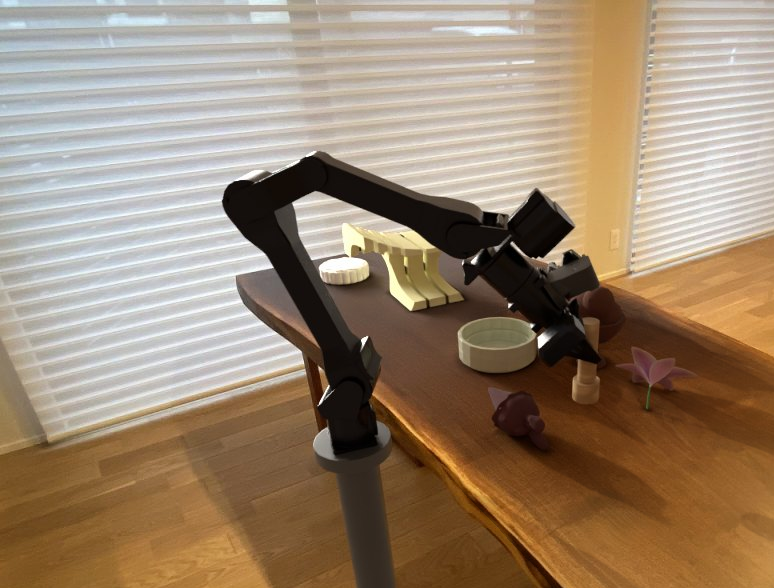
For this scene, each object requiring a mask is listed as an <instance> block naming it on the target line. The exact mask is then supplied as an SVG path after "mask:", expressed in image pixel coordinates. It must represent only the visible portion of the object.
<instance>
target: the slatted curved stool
mask: <svg viewBox="0 0 774 588" xmlns="http://www.w3.org/2000/svg"><path fill="white" fill-rule="evenodd" d="M341 228H342V229H341V232H342V239H343V240H342V241H343V245H344V246H343V247H344V253H345V254H346V255H347V256H348V257H351V258H352V257H353V258H355V257H356V256H360V253H362V255H365V254H371V253H373V252H374V253H376V254H379V255H381V256H382V258H383V260H384V262H385V264H386V266H387V269H388V274H389V292H390V294H391V295H392V296H393V297H394V298H395V299H396V300H398V302H399V303H400V304H402V305H403V306H404V307H405V308H407V309H408V310H409V311H410V312H413V311H419V310H423V309H427V307H430V308H432V307H437V306H442V305H446V304H447V303H448V304H452V303H455V302H456V303H457V302H461V301H465V298H464V297H463V296H462V294H461V292H459V291H458V290H456V289H455V287H453V286H452V285H450V284H449V283H448V282H447V281H446V280H445V279H444V278H443V276H442V275H441V273H440V270H439V259H440V256H441V254H442V253H443V251H441V250H439V249H438V248H436V247H434V246H433V245H431V244H429V243H428V242H427V241H426V240H425V239H424V238H422V237H421V236H420V235H419V234H418V233H416V232H415V231H413V230H408V231H400V232H399V233H398V232H384V231H381V232H378V231H377V230H374V229H373V230H372V229H368V230H367V229H365V228H364V227H360V226H357V225H356V226H354V225H353V224H351V223H348V222H343V224H342V227H341Z"/></svg>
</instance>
